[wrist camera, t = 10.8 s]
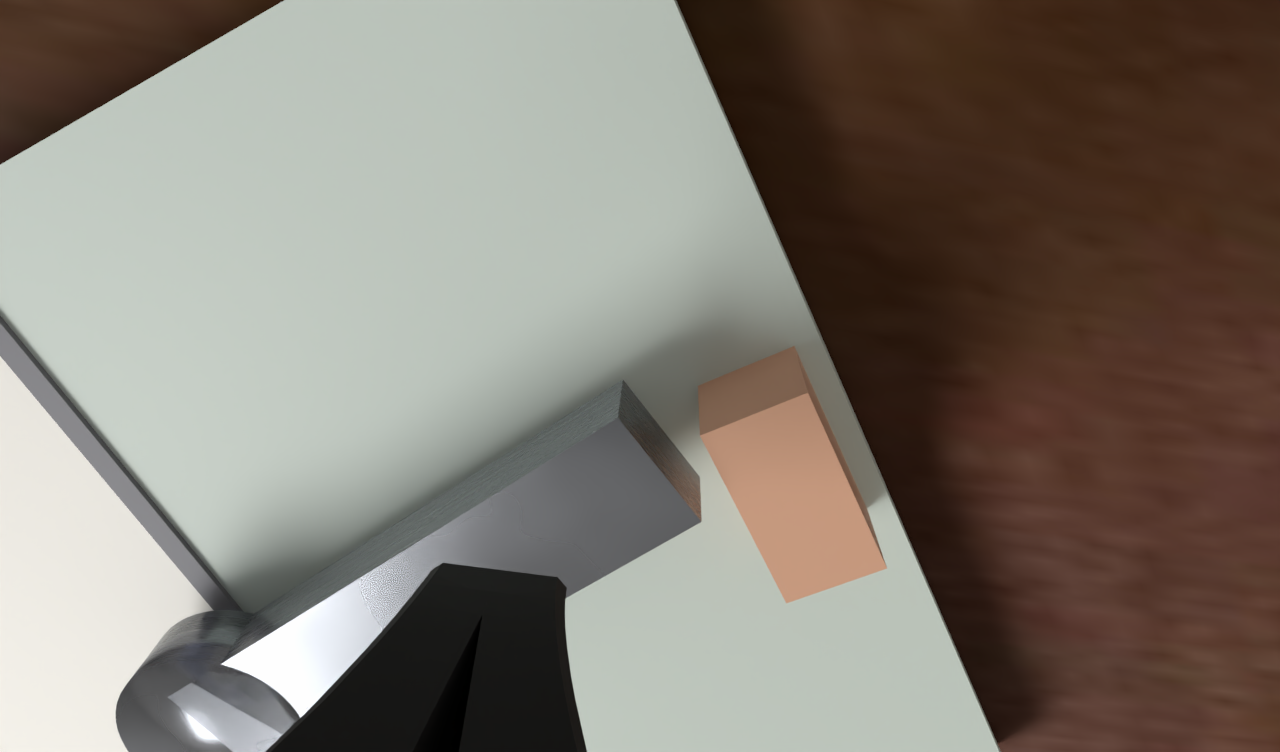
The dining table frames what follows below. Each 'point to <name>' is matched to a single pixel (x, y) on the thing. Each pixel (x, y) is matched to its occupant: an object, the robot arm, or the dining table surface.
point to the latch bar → (417, 576)
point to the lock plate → (438, 369)
